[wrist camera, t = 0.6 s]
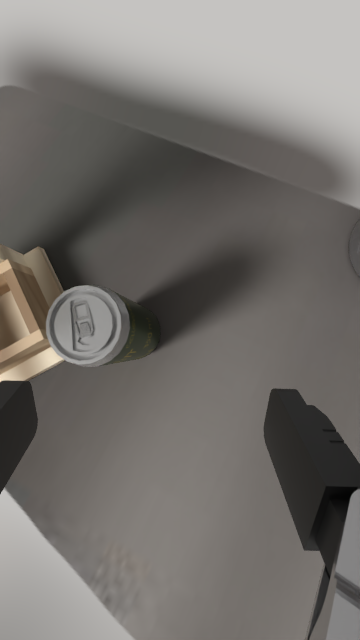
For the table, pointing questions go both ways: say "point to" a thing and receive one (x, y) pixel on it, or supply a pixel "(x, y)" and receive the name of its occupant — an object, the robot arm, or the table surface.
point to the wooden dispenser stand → (26, 313)
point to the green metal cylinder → (100, 327)
